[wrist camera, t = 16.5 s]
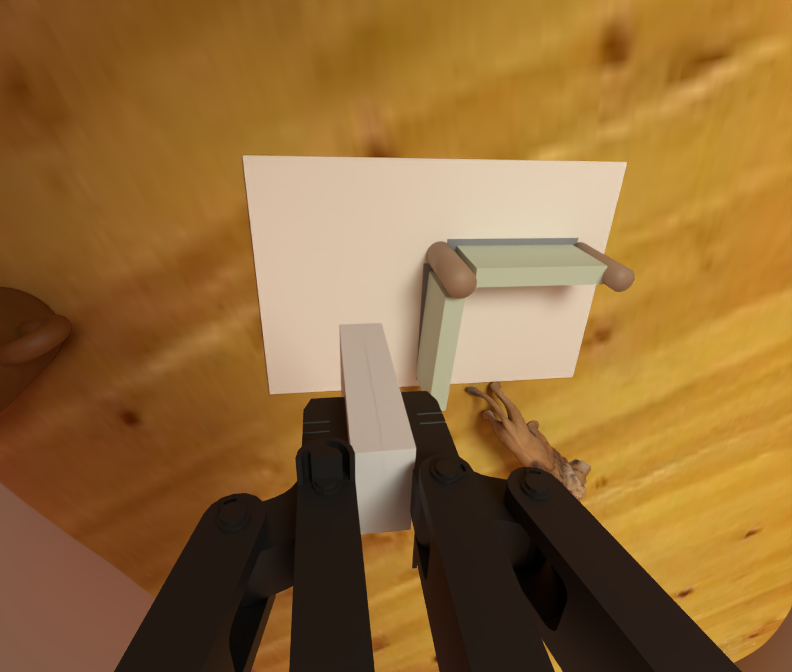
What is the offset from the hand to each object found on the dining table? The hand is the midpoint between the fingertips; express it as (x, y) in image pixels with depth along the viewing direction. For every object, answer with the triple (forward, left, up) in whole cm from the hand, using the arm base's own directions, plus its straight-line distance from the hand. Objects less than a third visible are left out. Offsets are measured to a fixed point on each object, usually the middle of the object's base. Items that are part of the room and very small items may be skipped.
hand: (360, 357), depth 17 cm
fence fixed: (+4, +16, -24) cm, 29 cm away
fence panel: (+11, +9, -24) cm, 28 cm away
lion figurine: (+23, +20, -25) cm, 39 cm away
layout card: (+7, +9, -24) cm, 27 cm away
